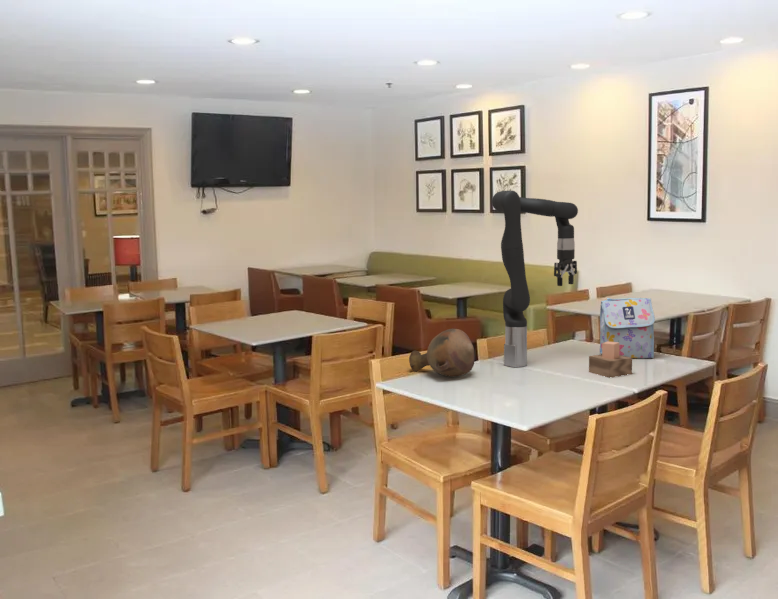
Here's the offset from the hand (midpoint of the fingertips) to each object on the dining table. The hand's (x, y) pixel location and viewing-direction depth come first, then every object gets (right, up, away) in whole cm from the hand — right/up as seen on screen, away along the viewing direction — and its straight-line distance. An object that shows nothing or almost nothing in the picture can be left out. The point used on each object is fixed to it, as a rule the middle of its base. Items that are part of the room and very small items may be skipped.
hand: (565, 285), depth 342 cm
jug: (-56, -38, -21) cm, 71 cm away
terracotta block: (+12, -30, -27) cm, 42 cm away
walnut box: (+13, -37, -25) cm, 46 cm away
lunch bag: (+28, -32, +6) cm, 43 cm away
